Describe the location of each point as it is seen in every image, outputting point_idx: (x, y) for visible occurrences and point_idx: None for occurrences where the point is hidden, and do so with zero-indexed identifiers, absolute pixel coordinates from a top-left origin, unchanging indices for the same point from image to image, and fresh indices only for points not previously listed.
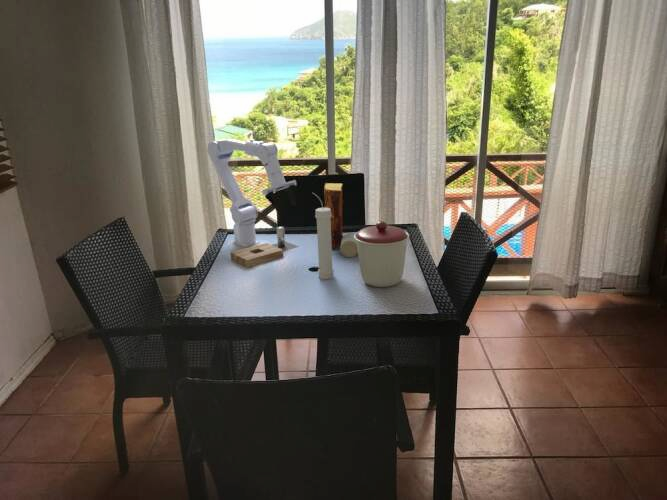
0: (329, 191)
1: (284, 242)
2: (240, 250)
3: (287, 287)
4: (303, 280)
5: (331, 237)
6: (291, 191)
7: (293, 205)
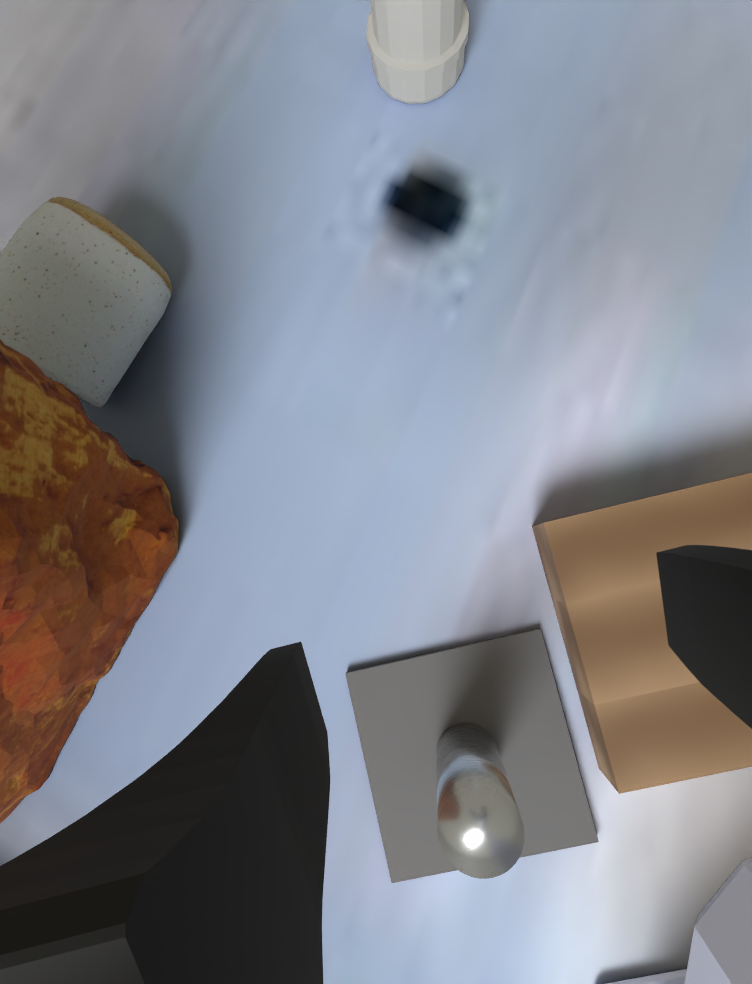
0: None
1: (449, 740)
2: None
3: (691, 13)
4: (563, 71)
5: (121, 448)
6: (241, 892)
7: (320, 709)
